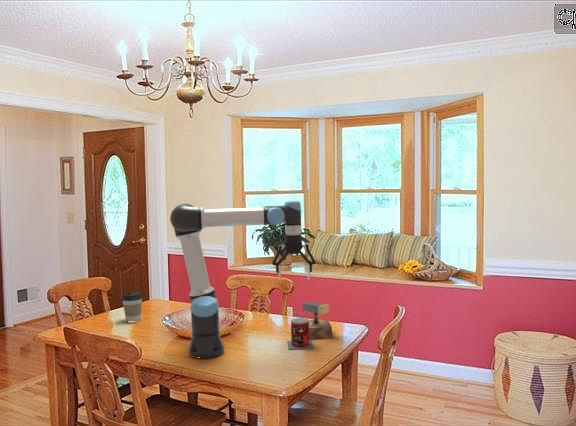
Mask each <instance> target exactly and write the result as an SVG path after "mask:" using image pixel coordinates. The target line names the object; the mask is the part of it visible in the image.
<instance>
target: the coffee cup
mask: <svg viewBox="0 0 576 426" xmlns="http://www.w3.org/2000/svg"><path fill="white" fill-rule="evenodd" d="M143 296H144V295H143V294H142V293H141V292H140V291H131V292H125V293H123V295H122V296H121V301H122V305H123V310H124V311H123V312H124V315H125V320H126V322H127V321H138V320H140V321H141V318H142V307H143V306H142V305H143V304H142V303H143V299H144V297H143Z"/></svg>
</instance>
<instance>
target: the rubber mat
mask: <svg viewBox="0 0 576 426" xmlns="http://www.w3.org/2000/svg"><path fill="white" fill-rule="evenodd" d="M286 343H287V348H288V351H293V350H295V351H297V350H299V351H300V350H314V349H315V347H314V345H313V341H312V339H309V344H308V345H307V346H304V347H295V346H293V345H292V343H291V340H287V341H286Z"/></svg>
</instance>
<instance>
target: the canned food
mask: <svg viewBox="0 0 576 426" xmlns="http://www.w3.org/2000/svg"><path fill="white" fill-rule="evenodd" d="M309 320H310V319H309V318H307V317H295V318H294V317H293V318H292V319H291V320H290V335H291V336H290V337H291V338H290V341H291V343H292V345H293V346H295V347H304V346H307V345H308V344H309V340H310V339H309Z"/></svg>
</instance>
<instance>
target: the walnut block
mask: <svg viewBox="0 0 576 426" xmlns="http://www.w3.org/2000/svg"><path fill="white" fill-rule="evenodd" d="M308 320H309V340H313V339H314V340H315V339H316V340H317V339H330V338H331V339H332V338H333V331H332V330H333V329H332V328H333V327H332V325H331V323H330V321H329V320H328V319H318V323H314V319H313V320H312V319H311V320H310V319H308Z"/></svg>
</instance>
